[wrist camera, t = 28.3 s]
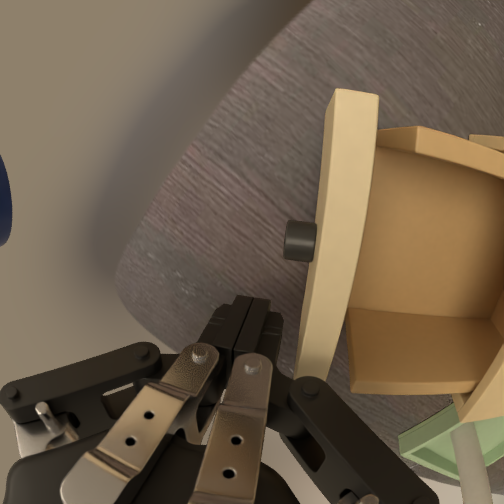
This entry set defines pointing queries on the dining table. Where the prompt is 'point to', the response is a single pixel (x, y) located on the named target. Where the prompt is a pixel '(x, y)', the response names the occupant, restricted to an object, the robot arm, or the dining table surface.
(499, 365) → the cabinet
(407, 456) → the tray
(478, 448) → the marker
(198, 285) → the dining table surface
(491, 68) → the dining table surface
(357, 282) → the drawer
